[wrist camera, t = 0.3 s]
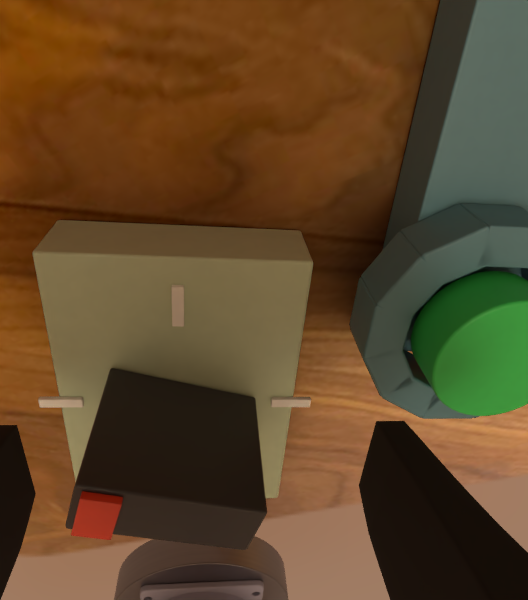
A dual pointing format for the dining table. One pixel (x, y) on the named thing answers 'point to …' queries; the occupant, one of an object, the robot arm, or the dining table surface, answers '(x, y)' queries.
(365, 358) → the switch box
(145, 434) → the dimmer knob
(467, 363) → the light button
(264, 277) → the dimmer panel
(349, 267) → the dining table surface
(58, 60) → the dining table surface
